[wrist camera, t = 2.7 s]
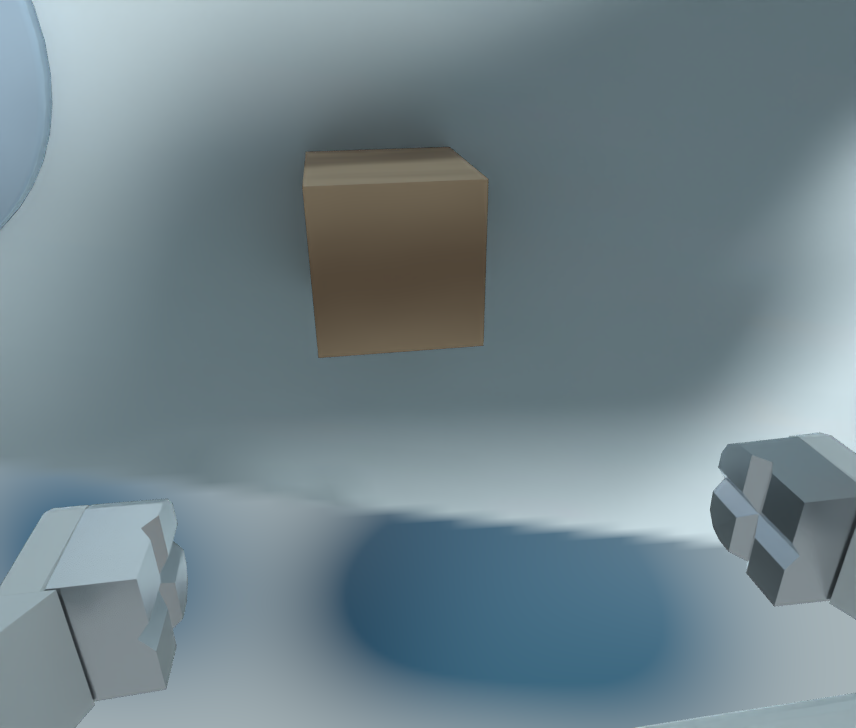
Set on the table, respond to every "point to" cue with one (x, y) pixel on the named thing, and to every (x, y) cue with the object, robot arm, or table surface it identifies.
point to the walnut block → (395, 249)
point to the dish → (22, 103)
